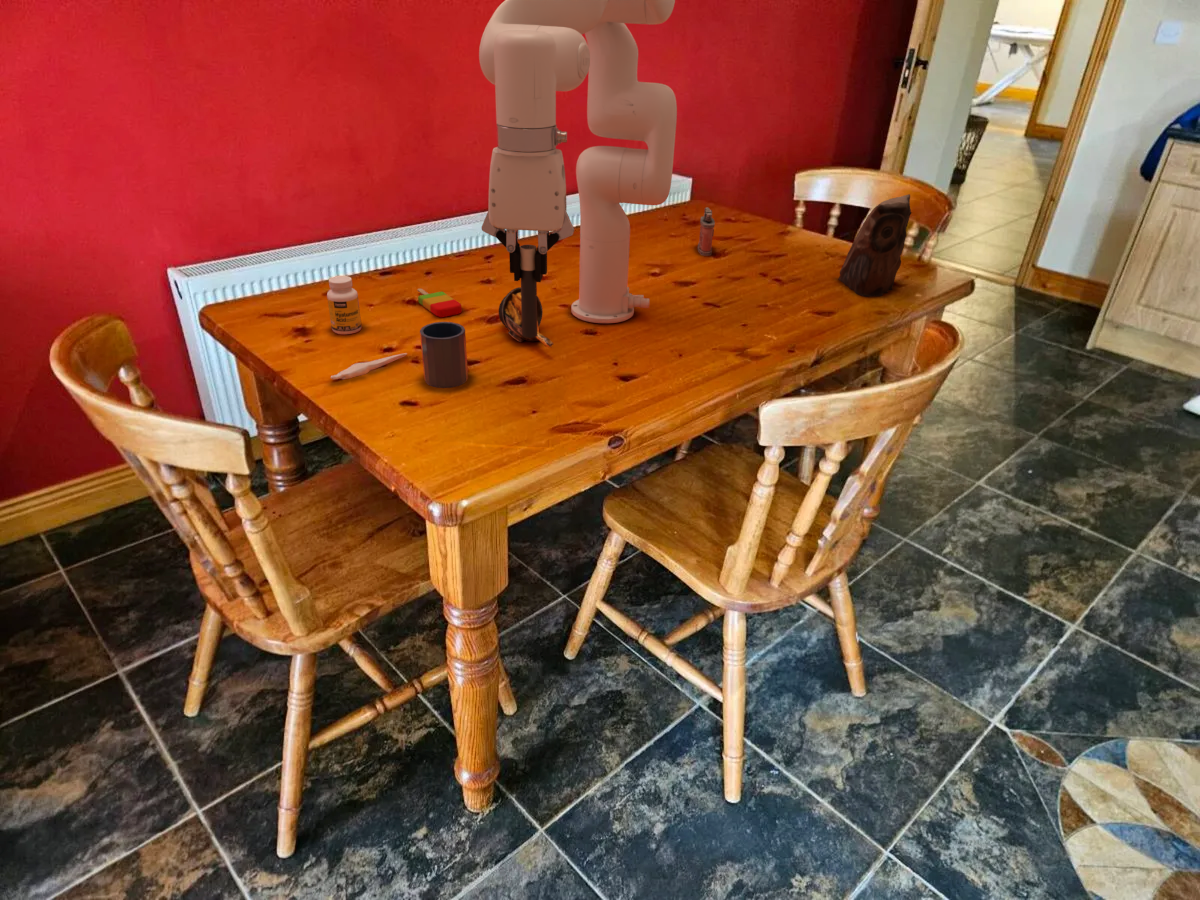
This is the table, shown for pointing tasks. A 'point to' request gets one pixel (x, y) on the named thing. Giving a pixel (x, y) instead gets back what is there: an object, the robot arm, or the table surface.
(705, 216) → the lighter
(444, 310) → the popsicle
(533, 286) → the marker pen
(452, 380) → the pen cup
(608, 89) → the robot arm
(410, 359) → the table surface
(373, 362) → the pale pink tapered rod
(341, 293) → the supplement bottle
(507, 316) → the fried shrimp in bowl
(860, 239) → the owl
